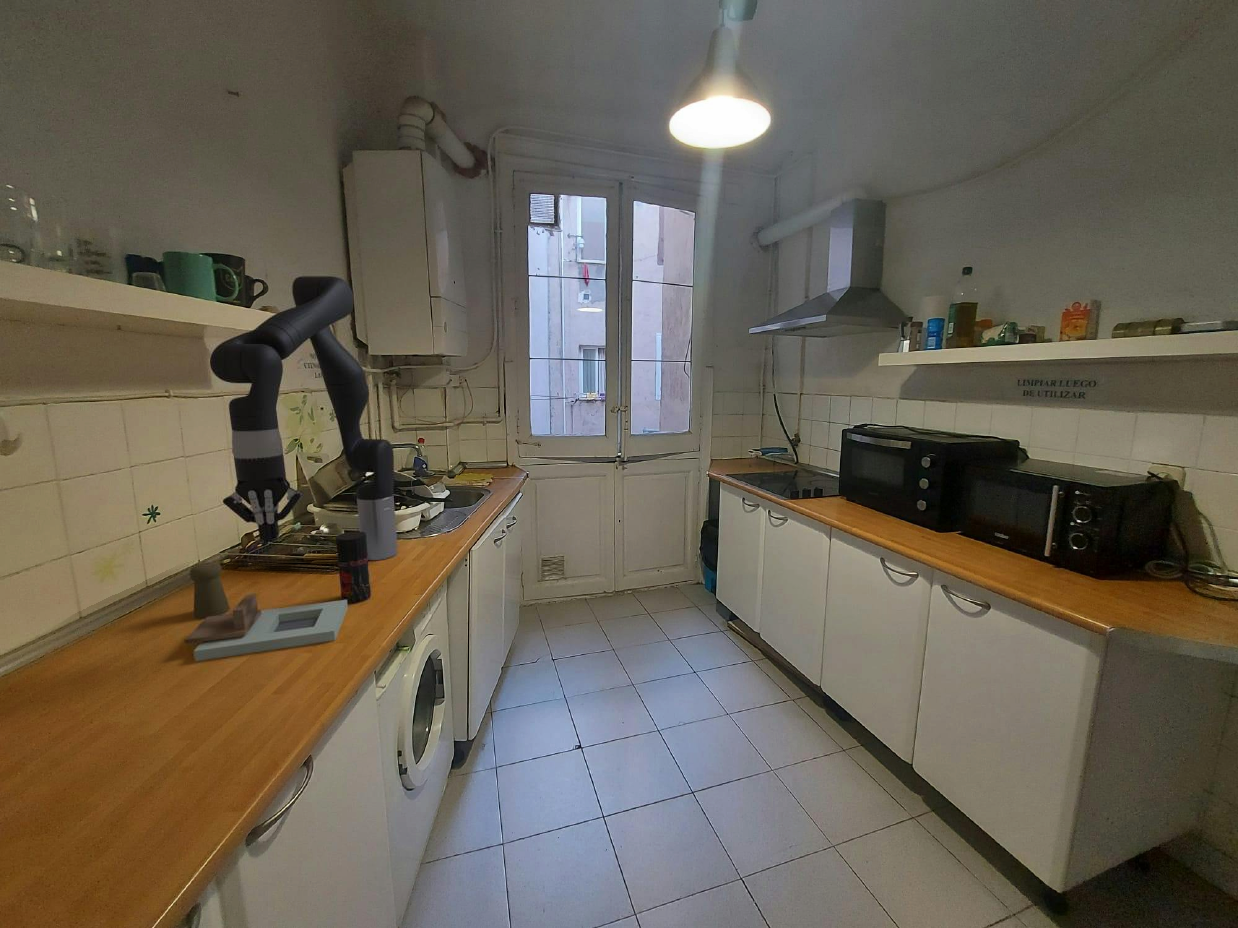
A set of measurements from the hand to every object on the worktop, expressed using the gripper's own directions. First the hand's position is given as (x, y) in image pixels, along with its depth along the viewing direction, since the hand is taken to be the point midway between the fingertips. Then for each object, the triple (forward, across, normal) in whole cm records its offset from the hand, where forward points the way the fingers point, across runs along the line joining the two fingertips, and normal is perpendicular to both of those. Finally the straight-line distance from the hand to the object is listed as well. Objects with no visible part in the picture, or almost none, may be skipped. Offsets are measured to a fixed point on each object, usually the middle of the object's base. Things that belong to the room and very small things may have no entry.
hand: (270, 541), depth 94 cm
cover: (+16, +9, +1) cm, 18 cm away
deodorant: (+19, -12, -11) cm, 25 cm away
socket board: (+19, 0, +1) cm, 19 cm away
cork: (+19, +16, -13) cm, 28 cm away
